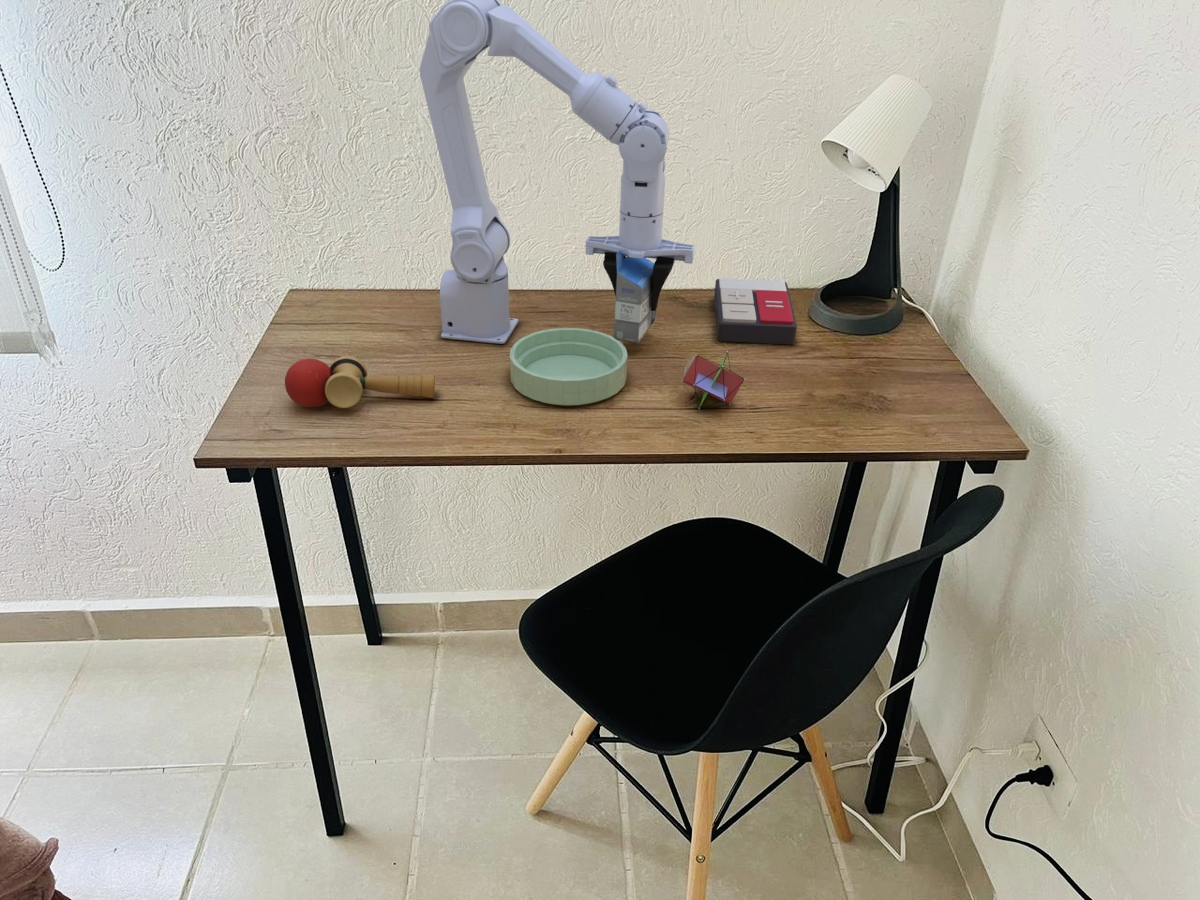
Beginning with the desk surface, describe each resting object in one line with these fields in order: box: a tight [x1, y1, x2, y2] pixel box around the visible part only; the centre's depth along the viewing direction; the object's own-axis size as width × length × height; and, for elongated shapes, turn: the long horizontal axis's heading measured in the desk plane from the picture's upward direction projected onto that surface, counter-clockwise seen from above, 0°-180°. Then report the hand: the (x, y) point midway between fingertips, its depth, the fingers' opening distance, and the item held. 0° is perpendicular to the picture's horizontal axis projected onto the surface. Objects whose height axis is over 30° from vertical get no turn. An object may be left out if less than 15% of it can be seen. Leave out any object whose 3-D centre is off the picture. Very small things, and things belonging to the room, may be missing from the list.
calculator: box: [713, 277, 798, 345], centre depth 136 cm, size 11×4×15 cm
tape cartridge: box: [613, 250, 657, 344], centre depth 126 cm, size 9×4×12 cm, turn 161°
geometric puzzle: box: [681, 350, 746, 410], centre depth 115 cm, size 7×7×8 cm
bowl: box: [509, 327, 629, 407], centre depth 120 cm, size 15×15×4 cm
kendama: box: [284, 355, 436, 409], centre depth 114 cm, size 8×6×18 cm
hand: (637, 306), depth 127 cm, fingers closed on tape cartridge, 4 cm apart
